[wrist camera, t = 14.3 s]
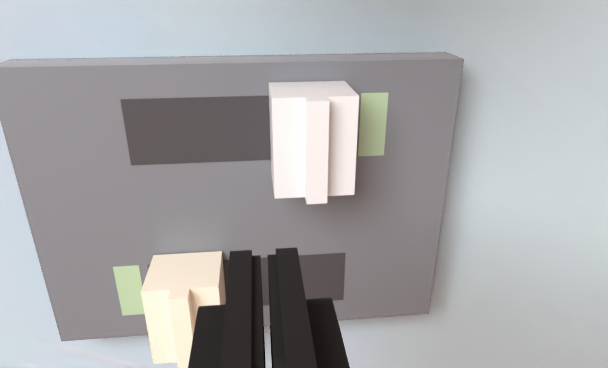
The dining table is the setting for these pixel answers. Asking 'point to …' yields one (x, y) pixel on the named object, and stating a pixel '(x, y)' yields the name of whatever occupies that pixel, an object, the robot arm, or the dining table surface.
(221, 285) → the cream tab
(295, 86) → the ridged white block
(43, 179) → the switch panel
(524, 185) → the dining table surface
